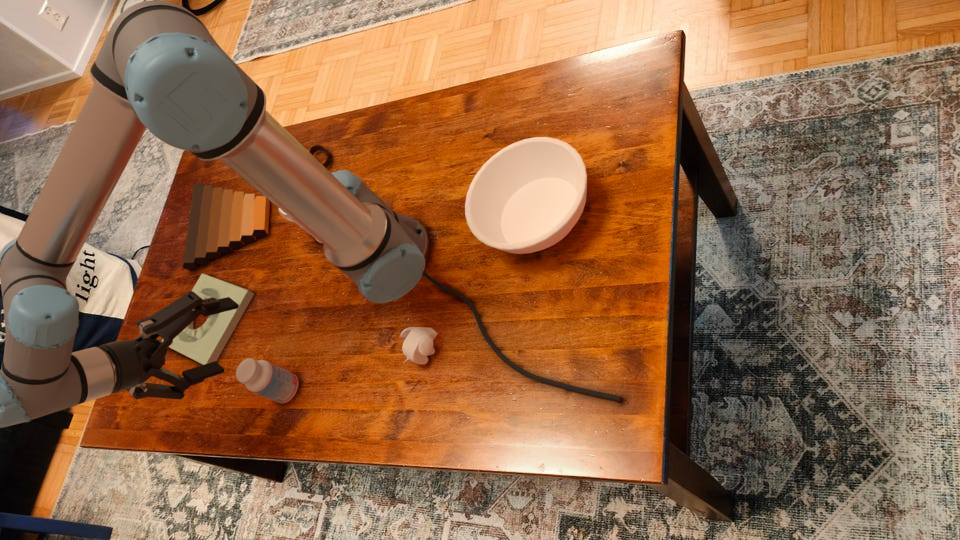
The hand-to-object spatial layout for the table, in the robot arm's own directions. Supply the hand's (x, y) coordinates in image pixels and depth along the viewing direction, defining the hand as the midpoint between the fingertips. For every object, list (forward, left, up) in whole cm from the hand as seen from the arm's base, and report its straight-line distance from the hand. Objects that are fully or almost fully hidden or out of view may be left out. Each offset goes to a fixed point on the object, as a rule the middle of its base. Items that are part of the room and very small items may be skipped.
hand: (226, 335), depth 115 cm
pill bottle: (-1, +4, -18) cm, 18 cm away
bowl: (-38, -42, -18) cm, 60 cm away
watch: (+24, -46, -18) cm, 55 cm away
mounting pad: (+31, -2, -18) cm, 35 cm away
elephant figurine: (-28, -12, -18) cm, 36 cm away
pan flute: (+45, -28, -18) cm, 56 cm away
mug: (+12, -30, -18) cm, 37 cm away
